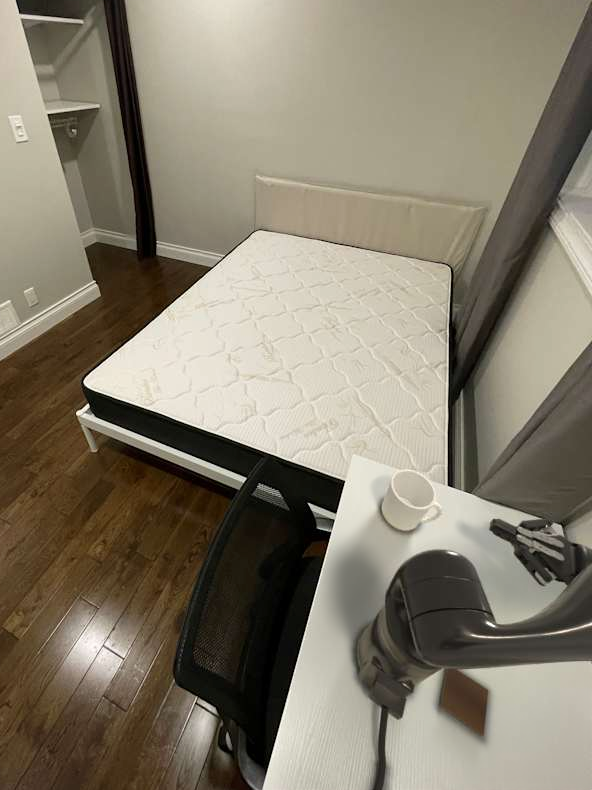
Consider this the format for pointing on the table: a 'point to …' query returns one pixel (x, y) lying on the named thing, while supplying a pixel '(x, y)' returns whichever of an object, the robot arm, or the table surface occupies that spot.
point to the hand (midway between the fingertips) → (491, 524)
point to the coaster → (464, 700)
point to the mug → (409, 500)
